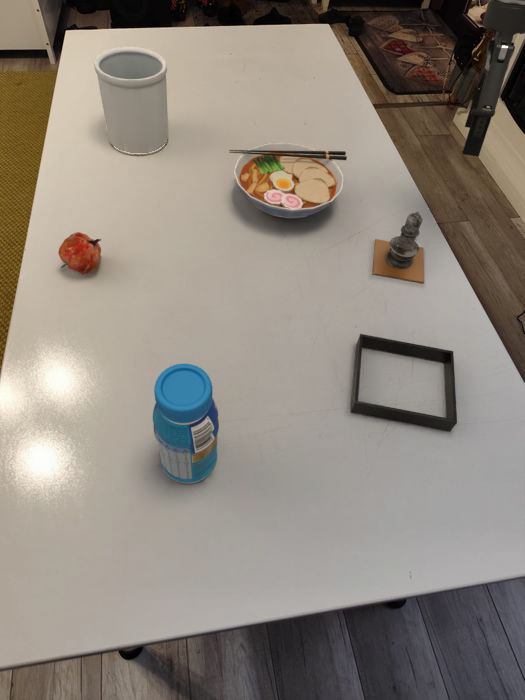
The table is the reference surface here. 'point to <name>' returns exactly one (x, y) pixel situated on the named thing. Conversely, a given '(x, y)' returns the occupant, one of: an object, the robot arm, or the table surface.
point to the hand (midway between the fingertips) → (471, 140)
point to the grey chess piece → (405, 243)
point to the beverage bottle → (186, 423)
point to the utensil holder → (134, 98)
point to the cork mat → (386, 270)
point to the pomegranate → (80, 253)
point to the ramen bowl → (289, 178)
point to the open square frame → (400, 414)
